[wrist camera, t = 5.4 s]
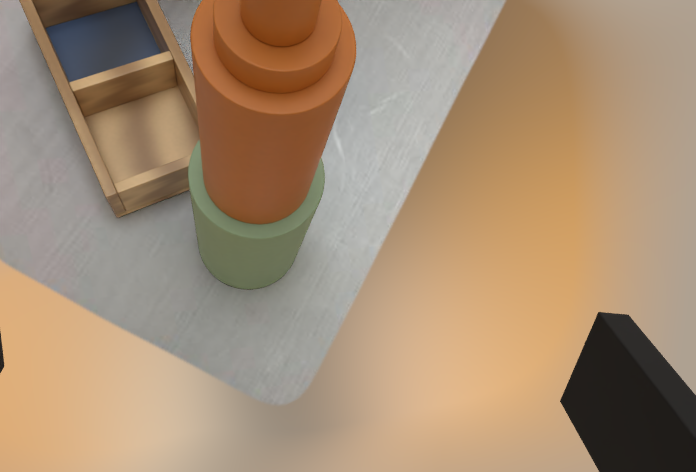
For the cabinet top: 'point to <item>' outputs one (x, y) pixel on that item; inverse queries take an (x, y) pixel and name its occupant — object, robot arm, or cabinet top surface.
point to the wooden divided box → (122, 93)
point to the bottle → (267, 98)
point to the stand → (248, 235)
